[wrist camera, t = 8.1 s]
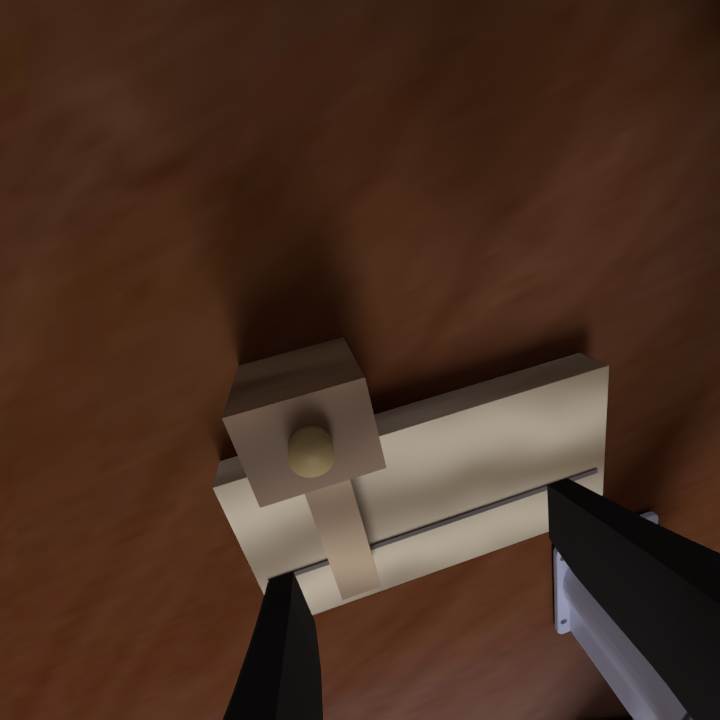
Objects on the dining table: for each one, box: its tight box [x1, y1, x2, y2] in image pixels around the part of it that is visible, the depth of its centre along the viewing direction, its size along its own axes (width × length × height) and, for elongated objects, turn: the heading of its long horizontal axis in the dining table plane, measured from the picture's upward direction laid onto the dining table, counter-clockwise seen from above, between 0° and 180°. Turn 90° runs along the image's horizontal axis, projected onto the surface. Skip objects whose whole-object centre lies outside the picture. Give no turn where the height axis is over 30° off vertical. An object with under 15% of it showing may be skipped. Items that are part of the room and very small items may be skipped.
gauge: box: [222, 337, 386, 600], centre depth 17 cm, size 12×5×6 cm, turn 13°
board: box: [213, 353, 609, 615], centre depth 20 cm, size 10×20×2 cm, turn 103°
